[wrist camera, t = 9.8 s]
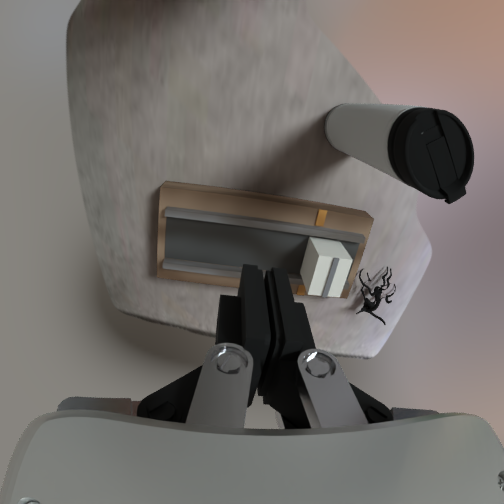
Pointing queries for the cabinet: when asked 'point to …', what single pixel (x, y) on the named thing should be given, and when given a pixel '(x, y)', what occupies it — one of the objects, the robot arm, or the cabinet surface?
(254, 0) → the cabinet surface
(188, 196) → the fader console
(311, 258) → the fader tab
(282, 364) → the robot arm
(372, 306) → the creature
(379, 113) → the travel mug
